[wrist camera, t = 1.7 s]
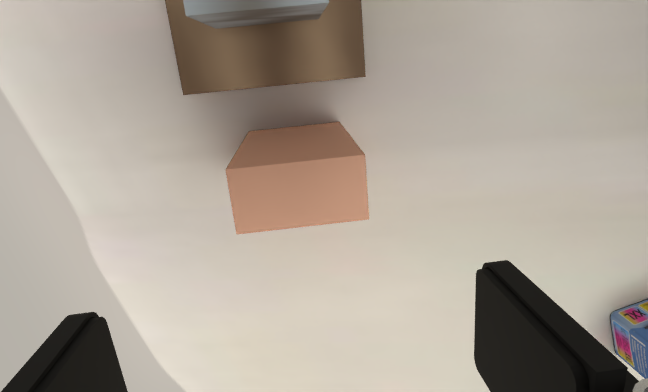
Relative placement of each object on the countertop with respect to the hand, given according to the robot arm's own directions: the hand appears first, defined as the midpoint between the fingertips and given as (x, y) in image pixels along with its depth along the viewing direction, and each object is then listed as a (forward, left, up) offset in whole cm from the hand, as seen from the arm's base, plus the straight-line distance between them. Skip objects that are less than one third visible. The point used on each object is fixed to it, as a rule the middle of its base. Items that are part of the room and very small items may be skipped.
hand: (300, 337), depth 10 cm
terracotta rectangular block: (0, 0, -24) cm, 24 cm away
